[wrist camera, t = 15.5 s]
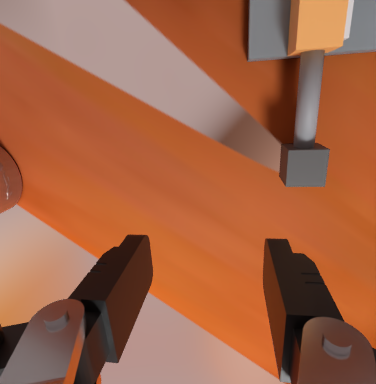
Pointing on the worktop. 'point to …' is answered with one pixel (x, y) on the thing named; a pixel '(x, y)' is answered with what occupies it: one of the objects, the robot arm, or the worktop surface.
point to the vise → (279, 30)
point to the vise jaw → (311, 84)
